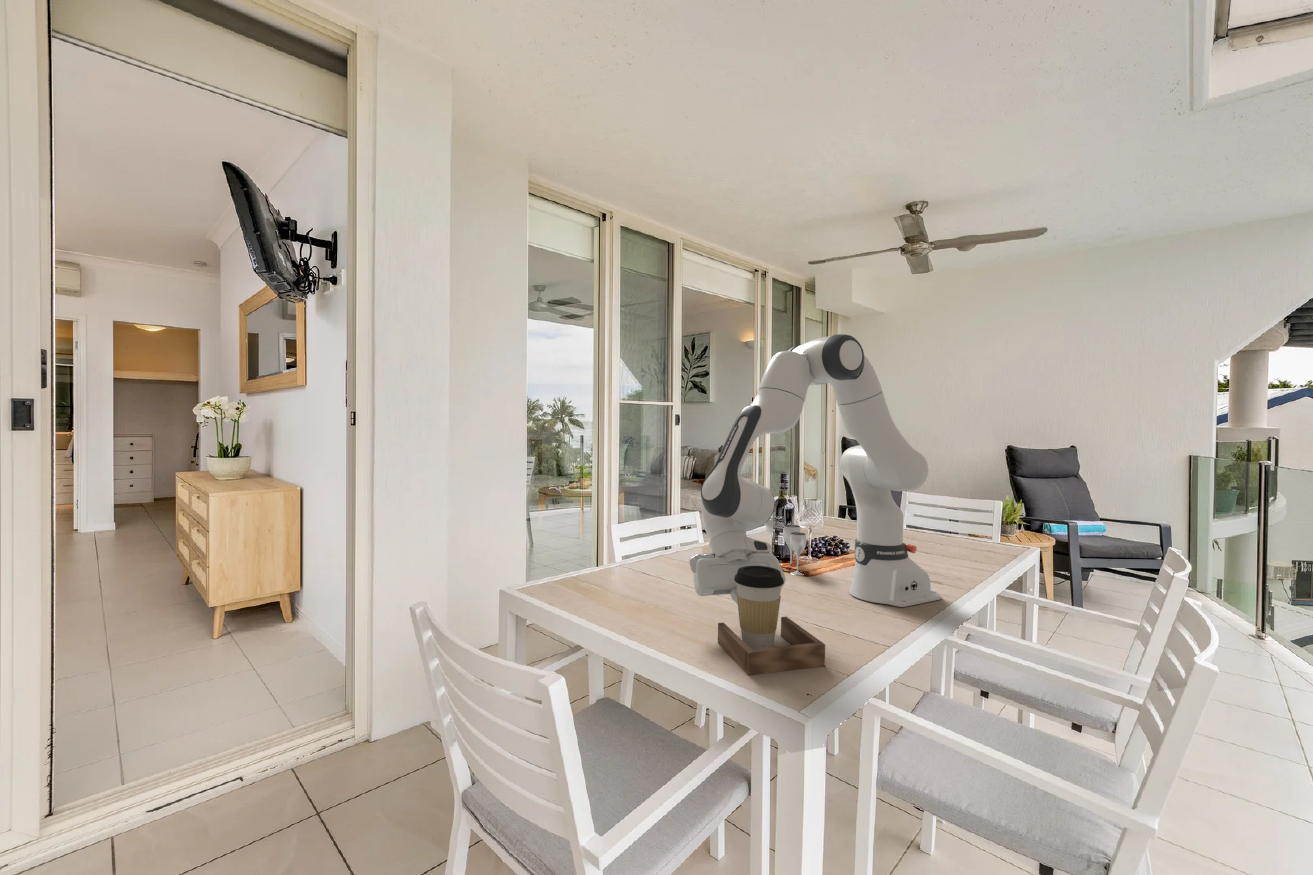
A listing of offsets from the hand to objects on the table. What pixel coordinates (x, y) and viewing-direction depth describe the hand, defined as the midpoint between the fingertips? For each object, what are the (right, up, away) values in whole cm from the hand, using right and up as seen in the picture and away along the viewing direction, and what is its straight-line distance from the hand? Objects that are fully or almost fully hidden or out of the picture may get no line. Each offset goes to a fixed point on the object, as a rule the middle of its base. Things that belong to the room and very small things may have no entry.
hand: (748, 610), depth 115 cm
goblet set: (+21, -4, +59) cm, 63 cm away
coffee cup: (+1, -6, -4) cm, 7 cm away
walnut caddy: (+2, -6, -8) cm, 10 cm away
